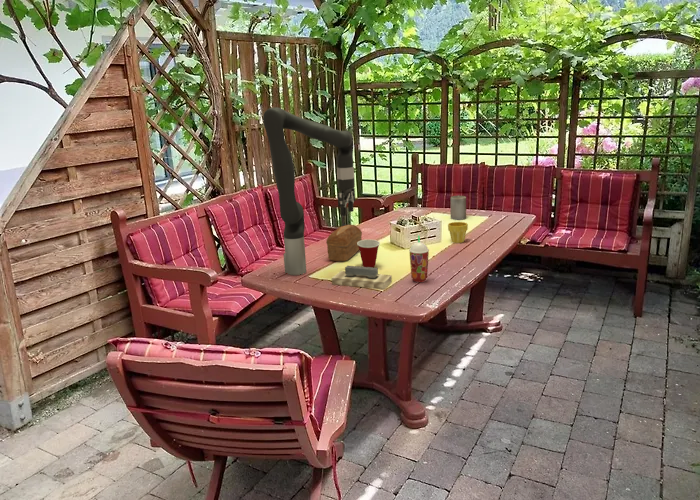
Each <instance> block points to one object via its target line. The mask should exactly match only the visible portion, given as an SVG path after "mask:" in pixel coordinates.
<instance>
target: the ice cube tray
mask: <svg viewBox="0 0 700 500" xmlns="http://www.w3.org/2000/svg"><path fill="white" fill-rule="evenodd" d="M391 283H393V275H392V274H382V273H380V274H379V273H378V275H377V279H368V276H362V275H356V276H355V277H354V278H353V277H347V275H346V274H345V270H340V271H338V272H337V273H336V274H335V275H333V276H332V277H331V285H335V286H344V285H345V286H346V287H347V286H348V287H355V288H357V287H359V288H366V289H367V288H368V289H377V290H378V289H379V290H385V289H386V288H387V287H388V286H390V284H391Z"/></svg>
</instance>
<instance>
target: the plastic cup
mask: <svg viewBox="0 0 700 500" xmlns="http://www.w3.org/2000/svg"><path fill="white" fill-rule="evenodd" d="M380 244H381V243H380V241H378V240H376V239H362V240H361V241H358V242H357V245H358V247H359V254H360V259H361V264H362V267H372V268H373V267H374V268H376V264H377V259H378V258H377V257H378V250H379V246H380Z"/></svg>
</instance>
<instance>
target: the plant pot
mask: <svg viewBox="0 0 700 500" xmlns="http://www.w3.org/2000/svg"><path fill="white" fill-rule="evenodd" d="M468 229H469V226H468V223H467V222H463V221H453V222H449V223H447V230H448V232H449V234H450V240H451V242H452V243H455V244H460V243H461V244H462V243H464V242H465V238H466V234H467V231H468Z"/></svg>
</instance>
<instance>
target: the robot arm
mask: <svg viewBox="0 0 700 500" xmlns="http://www.w3.org/2000/svg"><path fill="white" fill-rule="evenodd" d="M262 122H263V125H264V129H265V131H266V136H267V140H268V146H269V152H270V157H271V164H272V169H273V170H272V171H273V173H274V179H275V184H276V188H277V194H278V199H279V201H278V202H279V213H280V219H282V221H283V223H284V229H283V241H284V242H283V244H284V253H283V266H284V267H283V268H284V274H286V273H288V274H287V275H289V274H290V275H289V276H301V275H304V274H306V273H307V263H306V262H307V261H306V260H307V259H306V247H305V246H306V245H305V211H304V207H303V206H302V204H301V203H300V202H298V201H297V199H296V192H295V185H296V183H295V182H296V171H295V165H294V160H293V156H292V153H291V151H290V148H289V146H288V144H287V142H286V139H285V132H284V130H291V131H295V132H298V133H300V134H302V135H304V136H307V137H309V138H311V139H314V140H318V141H320V142H324V143H327V144H330V145H332V146H334V147H337V151H338V153H337V156H336V165H337V166H336V167H337V168H336V169H337V170H336V175H337V176H336V180H337V183H336V184H337V189H339V190H340V192H338V193H337V206H338V208H339V207H340V216H342V217H346V216H347V211H348V213H349V212H350V213H353V212H354V202H356V190H355V189H356V188H355V187H356V186H355V182H356V181H355V170H354V169H355V168H354V157H353V156H354V155H353V154H354V136H353V134H352V133H351V131H350V130H349V131H348V130H339V129H336V128H333V127H331V126H329V125H327V124H324V123H319V122H316V121H313V120H310V119H306V118H303V117H300V116H297V115H296V114H293V113H290V112H289V111H287V110H285V109H283V108H281V107H278V106H276V107H270V108H267V109H266V110H265V111H264V113H263V116H262ZM347 205H348V207H347ZM347 208H348V209H347ZM303 273H304V274H303ZM300 274H301V275H300Z"/></svg>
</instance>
